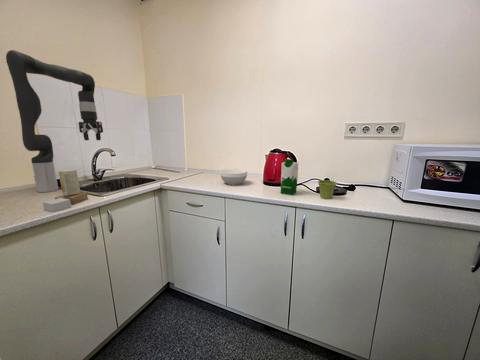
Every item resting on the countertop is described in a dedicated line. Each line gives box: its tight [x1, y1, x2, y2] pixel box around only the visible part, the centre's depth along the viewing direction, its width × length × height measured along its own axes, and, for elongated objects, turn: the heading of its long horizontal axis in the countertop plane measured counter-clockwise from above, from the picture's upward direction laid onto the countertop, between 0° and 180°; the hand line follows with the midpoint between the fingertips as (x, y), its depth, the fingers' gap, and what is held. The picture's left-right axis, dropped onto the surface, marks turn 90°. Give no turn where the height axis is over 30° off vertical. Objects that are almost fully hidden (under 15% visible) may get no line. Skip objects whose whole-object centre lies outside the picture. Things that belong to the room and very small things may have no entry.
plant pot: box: [317, 179, 338, 200], centre depth 112 cm, size 9×9×9 cm
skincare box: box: [58, 169, 81, 196], centre depth 103 cm, size 6×4×12 cm
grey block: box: [42, 198, 72, 213], centre depth 94 cm, size 7×7×4 cm
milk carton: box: [280, 158, 299, 196], centre depth 119 cm, size 9×9×20 cm
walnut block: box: [54, 192, 89, 206], centre depth 104 cm, size 9×9×4 cm
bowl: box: [219, 168, 248, 186], centre depth 144 cm, size 19×19×9 cm
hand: (92, 140), depth 120 cm, fingers open, 8 cm apart
